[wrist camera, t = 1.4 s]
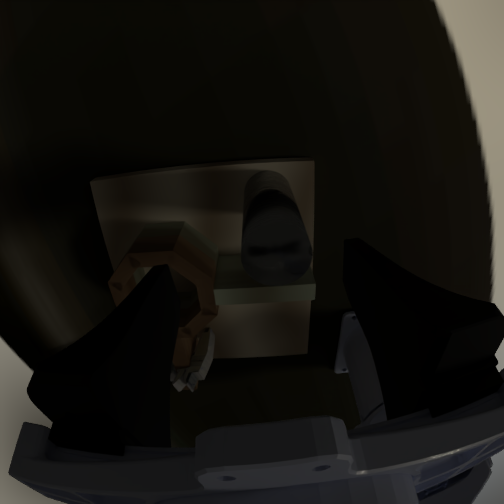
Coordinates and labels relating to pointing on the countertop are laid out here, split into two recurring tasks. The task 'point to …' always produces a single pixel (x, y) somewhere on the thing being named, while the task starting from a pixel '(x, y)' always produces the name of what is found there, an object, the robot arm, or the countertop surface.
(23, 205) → the countertop surface
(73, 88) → the countertop surface
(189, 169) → the hinge base
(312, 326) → the countertop surface
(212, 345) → the caliper
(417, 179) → the countertop surface
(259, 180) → the steel pin
